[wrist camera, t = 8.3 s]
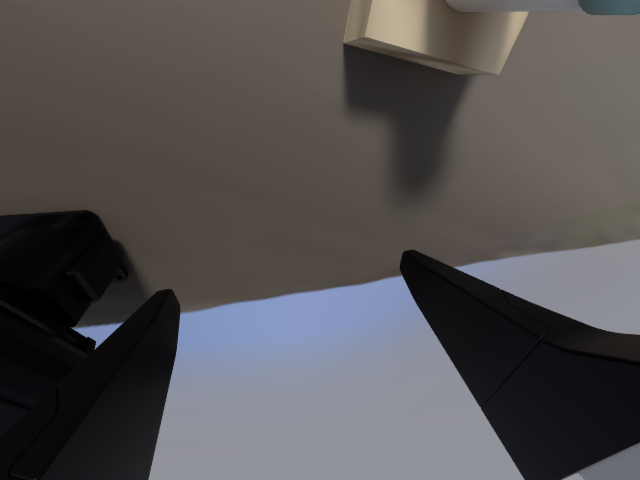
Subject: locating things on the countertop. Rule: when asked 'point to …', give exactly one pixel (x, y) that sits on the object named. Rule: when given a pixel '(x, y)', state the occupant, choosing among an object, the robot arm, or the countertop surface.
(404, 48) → the beech block
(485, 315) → the robot arm
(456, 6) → the white jar
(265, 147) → the countertop surface
